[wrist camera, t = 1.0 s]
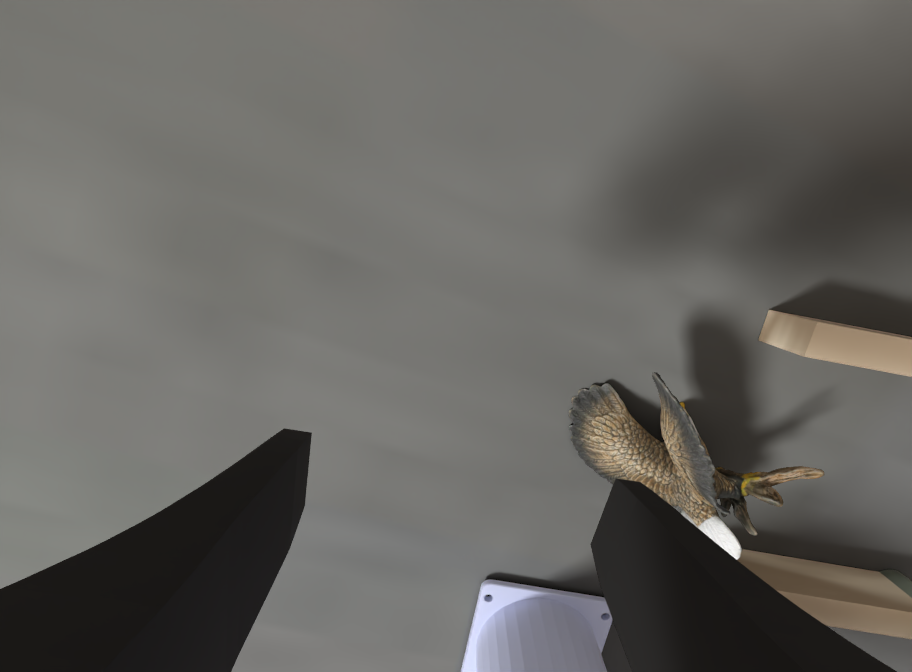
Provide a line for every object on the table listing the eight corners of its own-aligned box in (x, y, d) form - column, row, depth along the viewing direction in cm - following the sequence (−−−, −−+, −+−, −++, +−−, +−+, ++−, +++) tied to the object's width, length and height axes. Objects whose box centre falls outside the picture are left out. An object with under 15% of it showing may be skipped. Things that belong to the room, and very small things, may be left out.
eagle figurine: (789, 396, 22) (654, 324, 19) (863, 548, 17) (697, 479, 14) (666, 453, 27) (548, 402, 24) (696, 581, 22) (552, 534, 20)
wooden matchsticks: (895, 603, 26) (997, 689, 21) (676, 567, 25) (728, 647, 20) (1024, 352, 22) (1183, 385, 17) (771, 304, 22) (862, 324, 17)
